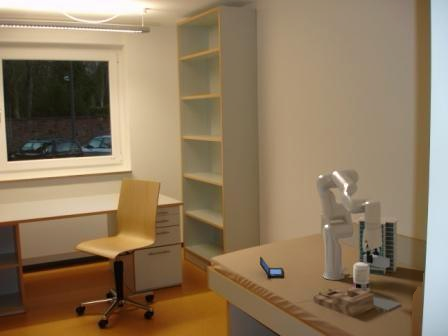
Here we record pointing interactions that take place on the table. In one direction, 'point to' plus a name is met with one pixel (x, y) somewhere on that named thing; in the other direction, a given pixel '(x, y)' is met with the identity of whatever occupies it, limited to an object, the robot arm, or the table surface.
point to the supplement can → (361, 276)
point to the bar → (378, 261)
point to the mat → (385, 303)
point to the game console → (271, 270)
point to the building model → (387, 240)
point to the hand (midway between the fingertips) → (372, 261)
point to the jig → (346, 301)
